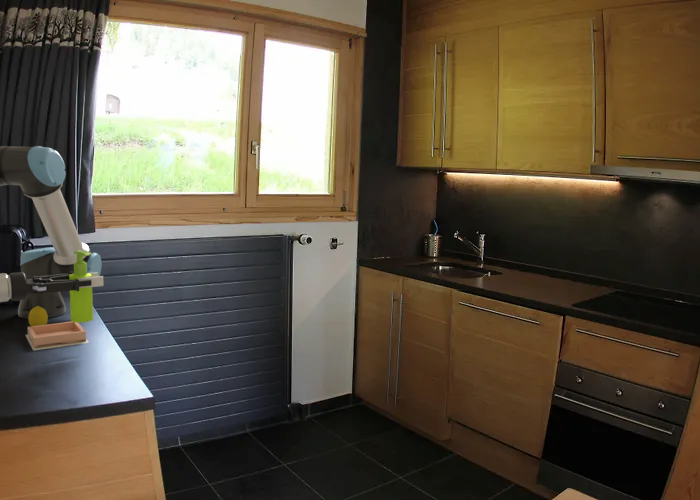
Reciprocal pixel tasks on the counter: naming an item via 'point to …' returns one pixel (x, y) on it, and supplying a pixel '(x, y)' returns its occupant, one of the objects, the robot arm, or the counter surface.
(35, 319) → the lemon
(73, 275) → the soap dispenser
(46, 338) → the dish
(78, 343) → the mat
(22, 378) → the counter surface
